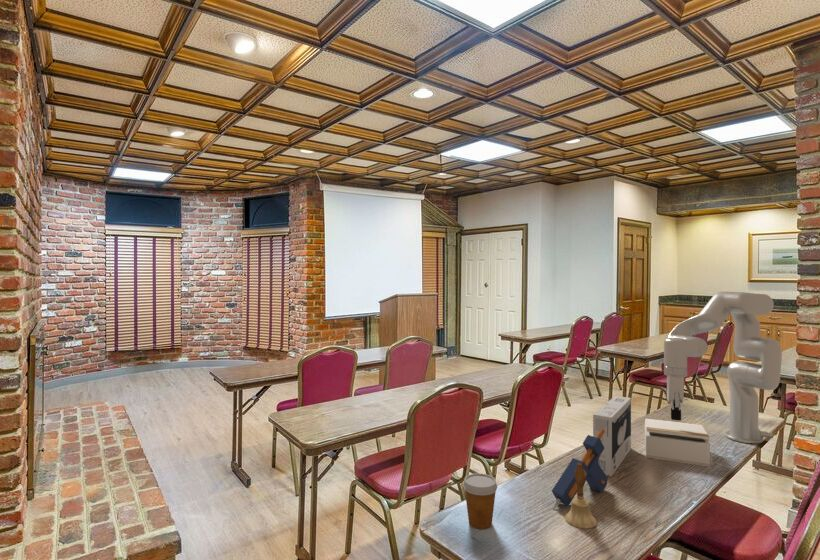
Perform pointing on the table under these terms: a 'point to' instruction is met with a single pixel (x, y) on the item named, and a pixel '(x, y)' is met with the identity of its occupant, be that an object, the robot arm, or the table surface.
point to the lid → (676, 428)
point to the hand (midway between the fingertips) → (676, 419)
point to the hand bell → (580, 504)
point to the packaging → (613, 432)
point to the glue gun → (592, 470)
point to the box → (677, 448)
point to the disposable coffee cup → (480, 499)
